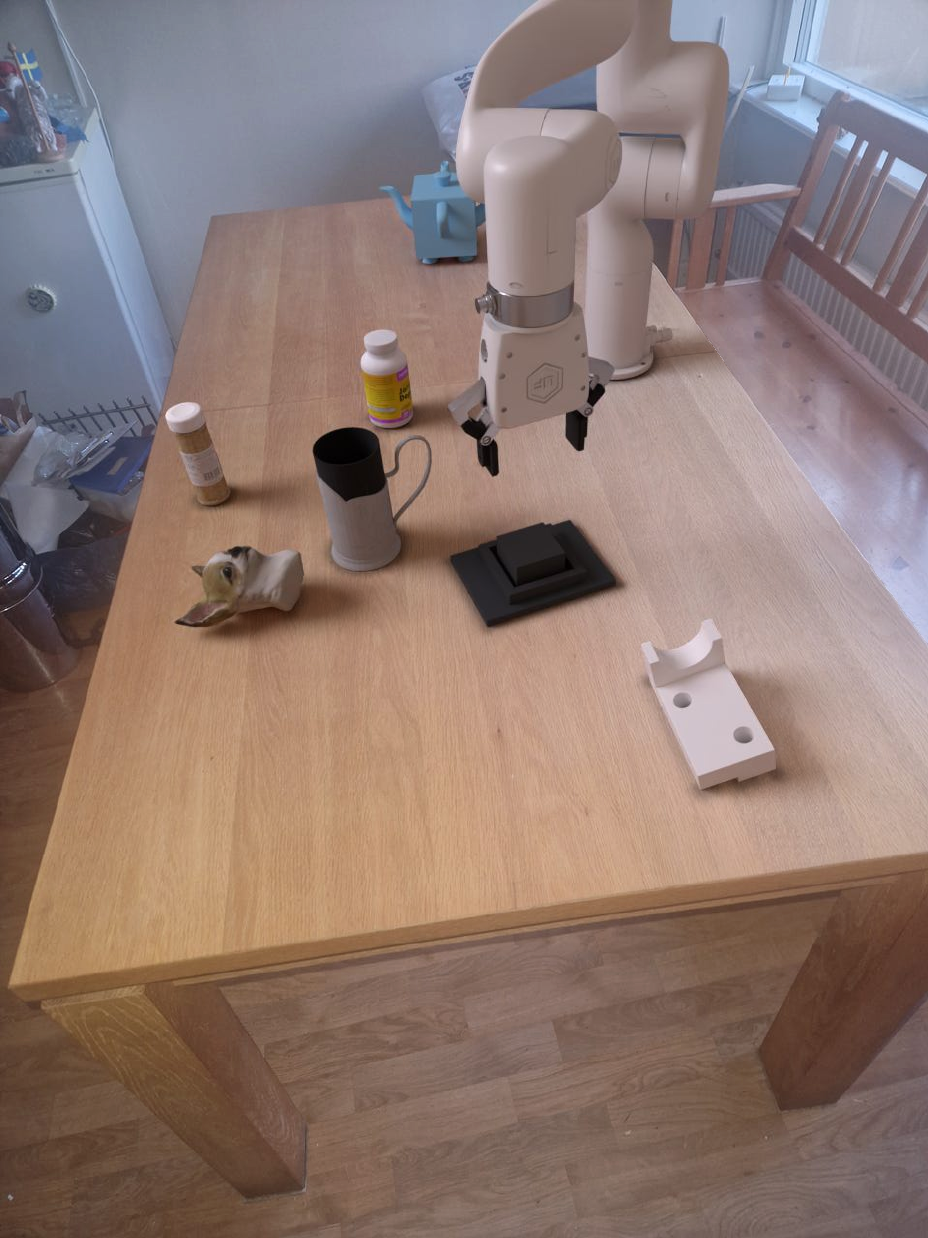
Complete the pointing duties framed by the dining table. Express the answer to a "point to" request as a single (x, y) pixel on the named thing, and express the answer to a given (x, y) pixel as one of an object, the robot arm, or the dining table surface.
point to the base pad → (508, 601)
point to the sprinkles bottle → (198, 452)
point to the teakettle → (440, 216)
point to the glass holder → (360, 497)
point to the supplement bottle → (386, 380)
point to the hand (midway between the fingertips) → (532, 456)
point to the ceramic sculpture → (245, 584)
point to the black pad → (530, 554)
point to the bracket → (708, 710)
